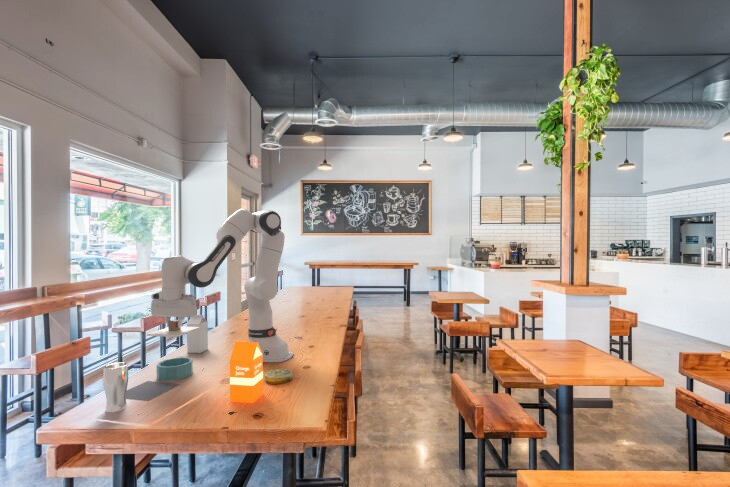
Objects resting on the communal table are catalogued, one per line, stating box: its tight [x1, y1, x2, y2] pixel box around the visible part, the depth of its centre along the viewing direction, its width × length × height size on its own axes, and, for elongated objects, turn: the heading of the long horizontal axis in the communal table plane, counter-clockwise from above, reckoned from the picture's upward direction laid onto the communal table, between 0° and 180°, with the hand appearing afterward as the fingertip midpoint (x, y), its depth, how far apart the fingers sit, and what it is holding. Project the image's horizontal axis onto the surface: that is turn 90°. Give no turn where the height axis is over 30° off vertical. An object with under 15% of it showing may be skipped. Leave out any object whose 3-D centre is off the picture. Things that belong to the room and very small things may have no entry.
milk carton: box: [186, 314, 209, 354], centre depth 190 cm, size 7×7×19 cm
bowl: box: [156, 357, 194, 382], centre depth 154 cm, size 13×13×6 cm
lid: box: [147, 319, 200, 338], centre depth 154 cm, size 14×14×5 cm
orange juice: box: [229, 341, 264, 404], centre depth 131 cm, size 8×9×20 cm
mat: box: [126, 380, 182, 402], centre depth 138 cm, size 16×16×1 cm
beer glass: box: [102, 361, 129, 413], centre depth 123 cm, size 7×7×15 cm
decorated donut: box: [264, 368, 293, 385], centre depth 148 cm, size 10×11×4 cm
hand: (174, 327), depth 154 cm, fingers closed on lid, 3 cm apart
